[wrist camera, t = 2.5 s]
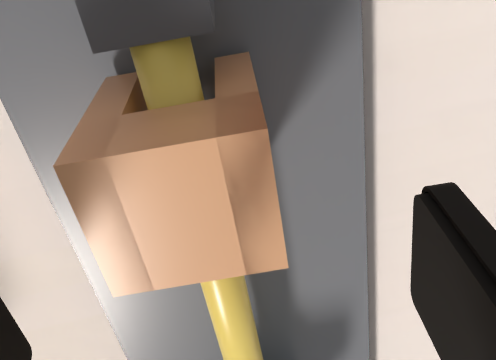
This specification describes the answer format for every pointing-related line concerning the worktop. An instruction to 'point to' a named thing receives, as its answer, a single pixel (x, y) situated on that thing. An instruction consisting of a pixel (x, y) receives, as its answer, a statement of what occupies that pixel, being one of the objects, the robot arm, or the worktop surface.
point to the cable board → (281, 143)
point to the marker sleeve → (175, 184)
